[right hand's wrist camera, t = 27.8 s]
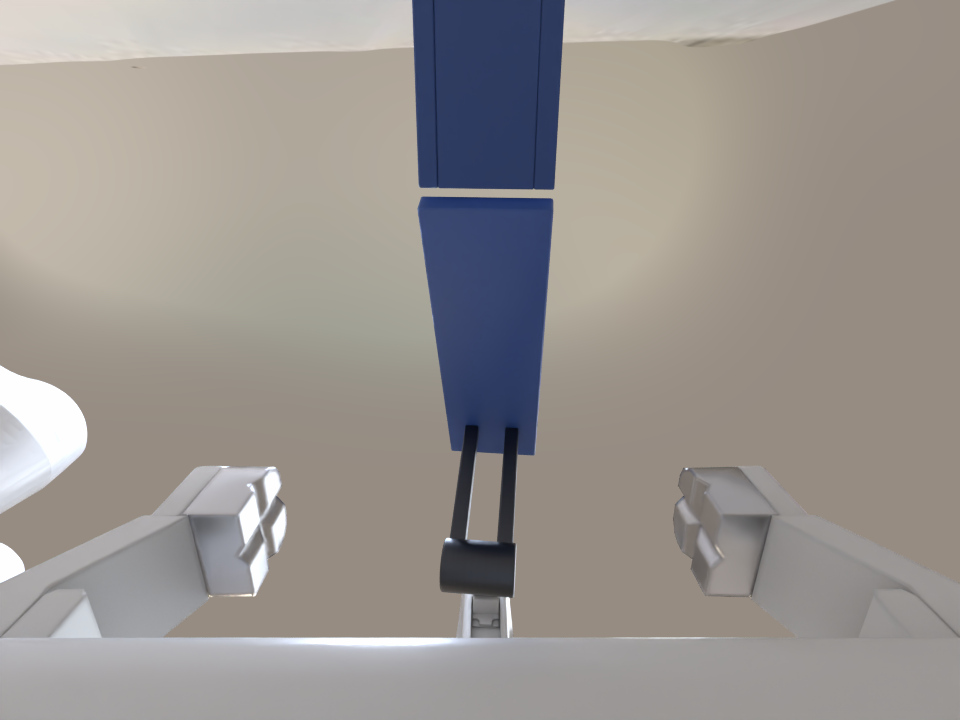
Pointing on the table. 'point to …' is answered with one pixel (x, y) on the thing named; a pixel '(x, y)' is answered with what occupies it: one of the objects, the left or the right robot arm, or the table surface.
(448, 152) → the chest
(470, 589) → the lid
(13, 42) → the table surface
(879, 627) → the right robot arm
